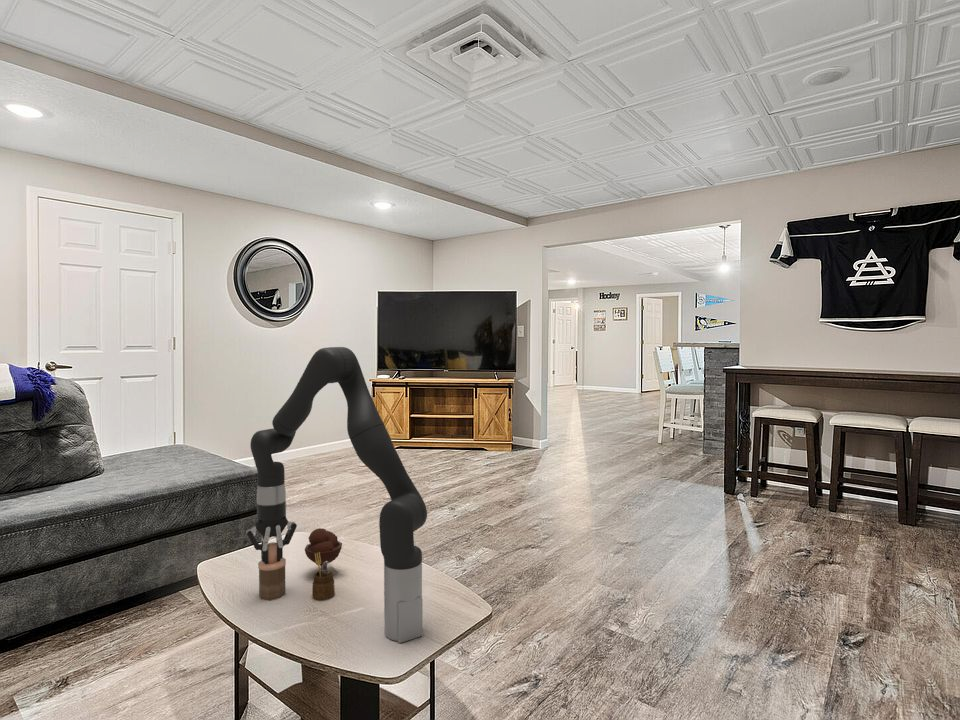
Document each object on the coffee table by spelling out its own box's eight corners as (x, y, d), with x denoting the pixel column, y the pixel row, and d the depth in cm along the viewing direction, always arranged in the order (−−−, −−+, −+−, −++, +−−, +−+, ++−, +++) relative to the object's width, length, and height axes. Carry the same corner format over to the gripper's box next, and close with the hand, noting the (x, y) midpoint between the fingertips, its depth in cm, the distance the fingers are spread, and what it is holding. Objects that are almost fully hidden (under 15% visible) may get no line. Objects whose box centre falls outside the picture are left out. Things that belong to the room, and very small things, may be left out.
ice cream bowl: (332, 585, 157) (332, 535, 157) (298, 582, 159) (297, 532, 159) (348, 571, 168) (348, 523, 167) (315, 568, 170) (315, 521, 169)
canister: (287, 599, 149) (286, 567, 149) (262, 605, 146) (261, 572, 145) (282, 590, 154) (281, 559, 154) (258, 595, 151) (257, 564, 151)
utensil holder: (319, 605, 145) (319, 561, 145) (307, 598, 149) (307, 555, 149) (338, 598, 149) (338, 555, 149) (326, 591, 154) (326, 549, 153)
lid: (288, 567, 149) (288, 545, 148) (260, 572, 145) (260, 550, 145) (282, 558, 155) (282, 537, 155) (256, 563, 151) (255, 542, 151)
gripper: (246, 507, 142) (247, 572, 143) (300, 499, 150) (301, 561, 150) (242, 500, 149) (243, 562, 149) (294, 493, 156) (294, 552, 157)
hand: (272, 561), depth 150 cm, fingers closed on lid, 2 cm apart
